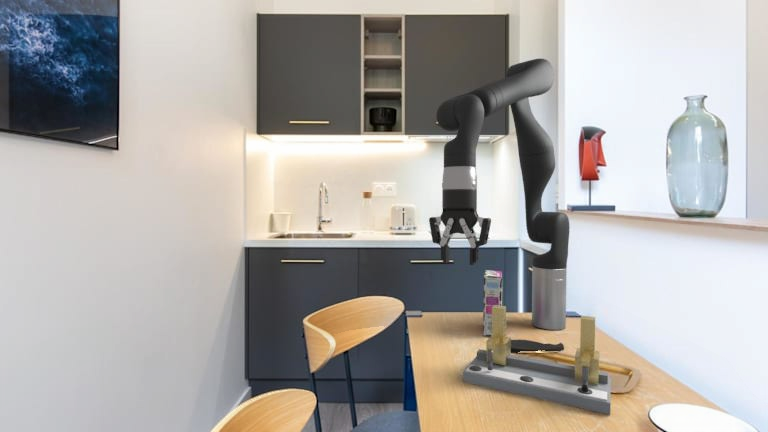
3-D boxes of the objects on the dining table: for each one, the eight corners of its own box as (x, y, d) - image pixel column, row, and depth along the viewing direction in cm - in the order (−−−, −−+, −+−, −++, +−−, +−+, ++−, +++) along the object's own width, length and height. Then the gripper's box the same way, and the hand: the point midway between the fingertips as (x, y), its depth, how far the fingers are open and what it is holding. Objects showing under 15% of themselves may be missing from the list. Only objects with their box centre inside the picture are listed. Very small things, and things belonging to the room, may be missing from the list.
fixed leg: (576, 371, 82) (577, 313, 82) (599, 375, 80) (600, 316, 80) (572, 391, 73) (573, 326, 73) (597, 396, 71) (598, 330, 71)
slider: (492, 354, 90) (492, 303, 90) (510, 357, 88) (511, 305, 88) (479, 370, 82) (479, 313, 81) (499, 374, 80) (500, 316, 79)
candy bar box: (502, 338, 108) (502, 277, 107) (482, 336, 109) (483, 276, 108) (501, 325, 118) (502, 270, 118) (484, 324, 120) (484, 269, 119)
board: (479, 361, 92) (479, 345, 92) (610, 386, 79) (610, 369, 79) (462, 381, 82) (462, 364, 82) (610, 414, 69) (610, 394, 69)
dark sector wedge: (569, 358, 95) (569, 351, 95) (509, 354, 97) (509, 348, 97) (560, 346, 103) (560, 339, 103) (505, 342, 105) (505, 336, 105)
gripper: (496, 187, 90) (495, 263, 91) (435, 189, 97) (435, 259, 98) (487, 186, 83) (486, 268, 84) (422, 188, 90) (422, 263, 91)
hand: (459, 263), depth 91 cm, fingers open, 5 cm apart
